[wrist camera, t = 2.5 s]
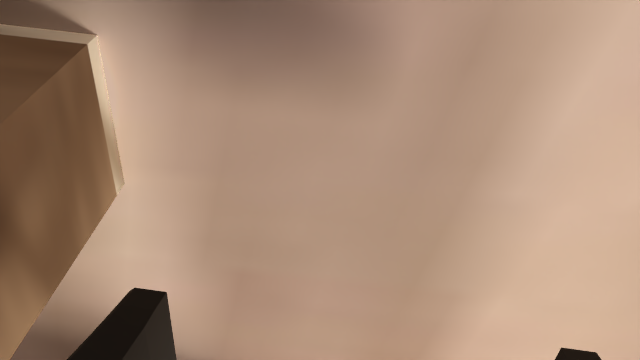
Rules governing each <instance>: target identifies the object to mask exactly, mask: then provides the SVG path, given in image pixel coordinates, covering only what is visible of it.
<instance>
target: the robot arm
mask: <svg viewBox="0 0 640 360" xmlns="http://www.w3.org/2000/svg"><path fill="white" fill-rule="evenodd" d="M67 360H176V354H175V347H174V340H173V333H172V326H171V319H170V312H169V305H168V298H167V292H161V291H154V290H147V289H140V288H134V289H132V290H131V291H129V292H128V294H127V295H126V296H125V297H124V298H123V299H122V300H121V302H120V303H119V304H118V305H117V306H116V307H115V308H114V309H113V311H112V312H111V313H110V314H109V315H108V316H107V317H106V318H105V319H104V321H103V322H102V323H101V324H100V325H99V326H98V327H97V328H96V329H95V330H94V331H93V333H92V334H91V335H90V336H89V337H88V338H87V339H86V340H85V341H84V342H83V343H82V344H81V345H80V346H79V347H78V349H77V350H76V351H75V352H74V353H73V354H72V355H71V356H70V357H69V358H68V359H67ZM555 360H601V358H600V357H599V356H598V354H597V353H596V352H589V351H581V350H574V349H567V348H561V349H560V351H559V353H558V355H557V357H556V359H555Z"/></svg>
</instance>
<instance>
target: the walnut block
mask: <svg viewBox="0 0 640 360" xmlns="http://www.w3.org/2000/svg"><path fill="white" fill-rule="evenodd" d="M123 185H124V178H123V173H122V167H121V162H120V156H119V151H118V145H117V140H116V134H115V129H114V123H113V118H112V113H111V107H110V102H109V96H108V91H107V85H106V80H105V74H104V69H103V63H102V58H101V52H100V47H99V41H98V36H97V35H93V34H85V33H76V32H67V31H58V30H49V29H40V28H32V27H23V26H14V25H5V24H0V360H10V359H11V357H12V356H13V354H14V353H15V351H16V350H17V348H18V347H19V345H20V343H21V342H22V340H23V339H24V337H25V336H26V334H27V333H28V331H29V330H30V328H31V327H32V325H33V324H34V322H35V320H36V319H37V317H38V316H39V314H40V313H41V311H42V310H43V308H44V307H45V305H46V304H47V302H48V300H49V299H50V297H51V296H52V294H53V293H54V291H55V290H56V288H57V287H58V285H59V284H60V282H61V280H62V279H63V277H64V276H65V274H66V273H67V271H68V270H69V268H70V267H71V265H72V264H73V262H74V261H75V259H76V257H77V256H78V254H79V253H80V251H81V250H82V248H83V247H84V245H85V244H86V242H87V241H88V239H89V237H90V236H91V234H92V233H93V231H94V230H95V228H96V227H97V225H98V224H99V222H100V221H101V219H102V218H103V216H104V214H105V213H106V211H107V210H108V208H109V207H110V205H111V204H112V202H113V201H114V199H115V198H116V196H117V194H118V193H119V191H120V190H121V188H122V187H123Z"/></svg>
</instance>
